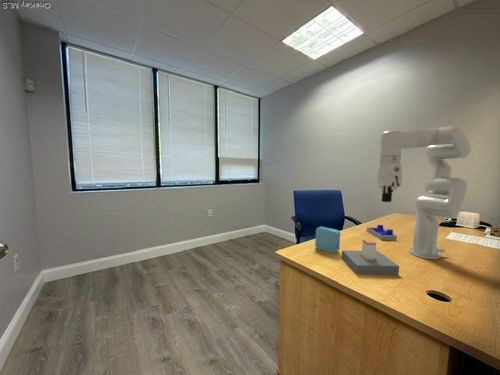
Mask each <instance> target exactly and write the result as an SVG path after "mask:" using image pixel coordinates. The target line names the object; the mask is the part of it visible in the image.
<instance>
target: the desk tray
mask: <svg viewBox="0 0 500 375" xmlns="http://www.w3.org/2000/svg"><path fill="white" fill-rule="evenodd" d="M375 229H377V226H376V227H375V226H374V227H370V226H366V232H367V233H368V234H371V235H372V236H373V237H375V238H377V239H378V240H380V241H397V239H398V236H397V234H394V233H393V235H381V234H379V233H377V232H375ZM386 231H387V229H384V232H385V233H386Z"/></svg>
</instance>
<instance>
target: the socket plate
mask: <svg viewBox="0 0 500 375" xmlns="http://www.w3.org/2000/svg"><path fill="white" fill-rule="evenodd" d="M341 259H342V260H343V261H344V262H345V263H346V265H348V266H349V268H350V269H351V270H352V271H353V272H354V273H355V274H356V275H383V276H384V275H385V276H387V275H388V276H390V275H391V276H399V274H400V266H399V265H398V264H397V263H396V262H394V261H393V260H391V259H390V258H388V257H387V256H386V255H384V254H383V253H381V252H380V251H378V250H376V252H375V260H365V259H364V258H362V250H345V249H343V250H341Z"/></svg>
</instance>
